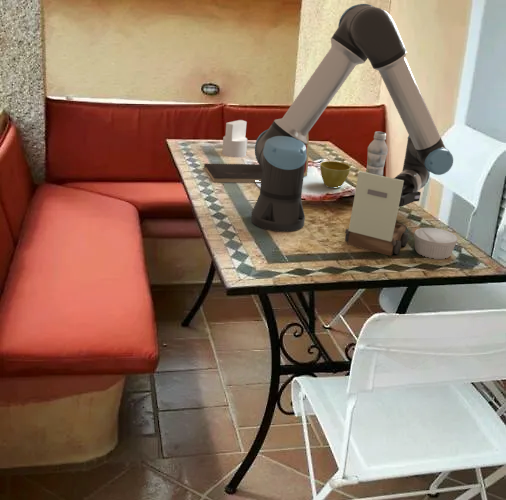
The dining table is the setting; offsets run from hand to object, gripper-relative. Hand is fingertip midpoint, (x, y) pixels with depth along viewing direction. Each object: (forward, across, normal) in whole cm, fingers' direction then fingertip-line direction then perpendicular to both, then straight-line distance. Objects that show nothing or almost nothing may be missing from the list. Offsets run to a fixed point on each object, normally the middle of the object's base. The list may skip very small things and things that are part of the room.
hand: (381, 206), depth 186 cm
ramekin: (-5, -15, -11) cm, 19 cm away
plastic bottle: (-45, +16, -11) cm, 49 cm away
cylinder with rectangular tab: (-54, +72, -11) cm, 91 cm away
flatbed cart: (-1, 0, -11) cm, 11 cm away
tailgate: (+6, 0, -6) cm, 9 cm away
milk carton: (-46, +45, -11) cm, 66 cm away
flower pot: (-42, +28, -11) cm, 52 cm away
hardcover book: (-31, +57, -12) cm, 66 cm away
